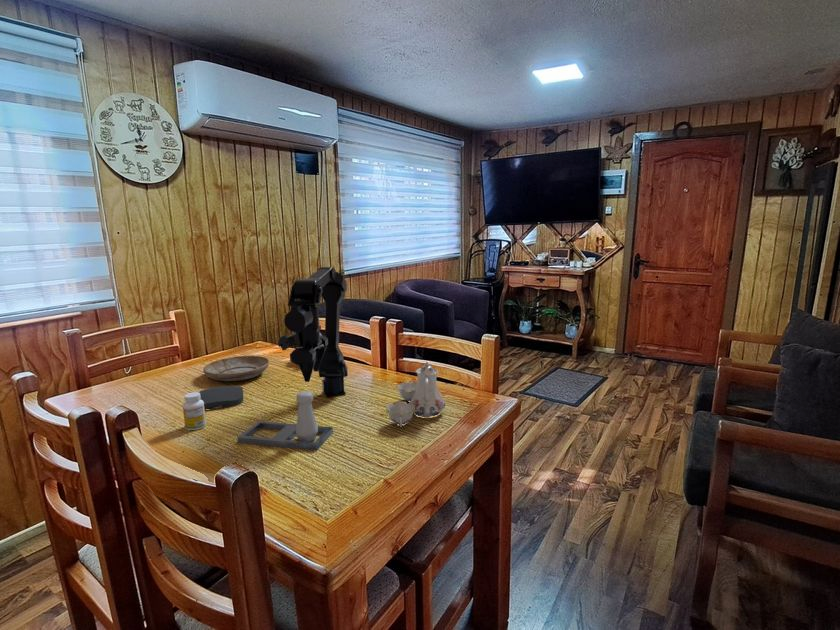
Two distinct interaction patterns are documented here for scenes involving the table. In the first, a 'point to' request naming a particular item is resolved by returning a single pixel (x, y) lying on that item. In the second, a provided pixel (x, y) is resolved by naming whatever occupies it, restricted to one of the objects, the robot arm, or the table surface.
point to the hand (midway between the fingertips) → (311, 376)
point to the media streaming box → (222, 397)
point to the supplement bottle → (194, 411)
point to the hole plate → (283, 436)
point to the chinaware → (417, 397)
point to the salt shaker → (306, 418)
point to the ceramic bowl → (236, 368)
